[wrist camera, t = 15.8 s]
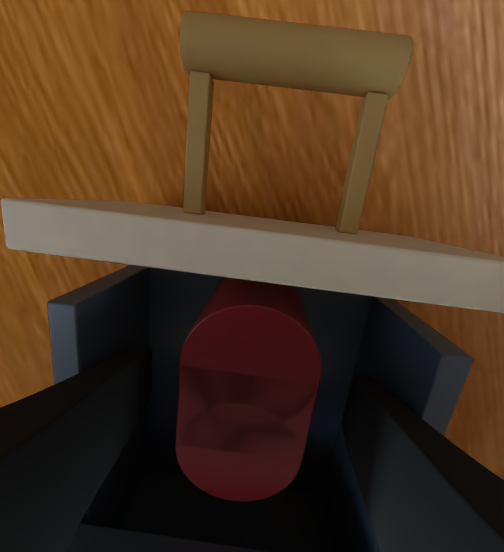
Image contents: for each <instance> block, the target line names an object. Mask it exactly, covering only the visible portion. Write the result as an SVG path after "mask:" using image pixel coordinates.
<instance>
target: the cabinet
mask: <svg viewBox="0 0 504 552" xmlns="http://www.w3.org/2000/svg"><path fill="white" fill-rule="evenodd" d="M65 552H273V551H267V550H260V549H253V548H246V547H240V546H233V545H226V544H219V543H212V542H206V541H199V540H192V539H185V538H179V537H172V536H165V535H158V534H151V533H145V532H138V531H131V530H124V529H118V528H111V527H104V526H97V525H90V524H84V523H79V525H78V527H77V529H76V531H75V533H74V535H73V537H72V539H71V541H70V543H69V545H68V547H67V549H66V550H65Z"/></svg>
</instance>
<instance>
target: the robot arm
mask: <svg viewBox="0 0 504 552" xmlns="http://www.w3.org/2000/svg"><path fill="white" fill-rule="evenodd" d="M151 389H152V347H147V346H140V345H134V346H132V347H130V348H127V349H125V350H123V351H121V352H119V353H117V354H115V355H114V356H112V357H110V358H108V359H106V360H104V361H102V362H100V363H98V364H96V365H94V366H92V367H90V368H88V369H86V370H84V371H82V372H80V373H78V374H76V375H74V376H72V377H70V378H68V379H65V380H63V381H61V382H59V383H57V384H55V385H53V386H50V387H48V388H46V389H44V390H42V391H40V392H37V393H35V394H33V395H31V396H28V397H26V398H23V399H21V400H19V401H16V402H14V403H11V404H8V405H6V406H3V407H1V408H0V552H65V550H66V549H67V547H68V545H69V543H70V541H71V539H72V537H73V535H74V533H75V531H76V529H77V527H78V525H79V523H80V521H81V519H82V517H83V515H84V514H85V512H86V510H87V508H88V507H89V505H90V503H91V501H92V500H93V498H94V496H95V494H96V493H97V491H98V490H99V488H100V486H101V485H102V483H103V481H104V480H105V478H106V477H107V475H108V473H109V472H110V470H111V468H112V467H113V465H114V464H115V462H116V460H117V459H118V457H119V455H120V454H121V452H122V450H123V449H124V447H125V446H126V444H127V442H128V441H129V439H130V437H131V436H132V434H133V432H134V431H135V429H136V427H137V426H138V424H139V422H140V420H141V418H142V415H143V413H144V411H145V409H146V407H147V405H148V402H149V400H150V398H151ZM341 424H342V428H343V433H344V438H345V443H346V447H347V452H348V455H349V458H350V462H351V465H352V468H353V471H354V474H355V476H356V479H357V482H358V485H359V488H360V491H361V494H362V497H363V500H364V503H365V506H366V509H367V511H368V514H369V517H370V520H371V523H372V526H373V529H374V532H375V535H376V538H377V541H378V544H379V547H380V551H381V552H504V480H503V479H501V478H500V477H498V476H497V475H495V474H494V473H493V472H491V471H490V470H488V469H487V468H485V467H484V466H483V465H481V464H480V463H479V462H477V461H476V460H474V459H473V458H472V457H470V456H469V455H468V454H466V453H465V452H464V451H462V450H461V449H460V448H459V447H457V446H456V445H455V444H453V443H452V442H451V441H449V440H448V439H447V438H445V437H444V436H443V435H442V434H440V433H439V432H438V431H437V430H435V429H434V428H433V427H432V426H430V425H429V424H428V423H427V422H426V421H424V420H423V419H422V418H421V417H419V416H418V415H417V414H416V413H415V412H413V411H412V410H411V409H410V408H409V407H408V406H406V405H405V404H404V403H403V402H402V401H400V400H399V399H398V398H397V397H396V396H394V395H393V394H392V393H391V392H390V391H388V390H387V389H386V388H385V387H384V386H382V385H381V384H380V383H379V382H377V381H376V380H375V379H373V378H372V377H367V376H359V375H353V379H352V383H351V387H350V391H349V395H348V399H347V403H346V406H345V410H344V414H343V418H342V422H341Z"/></svg>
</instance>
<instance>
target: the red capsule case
mask: <svg viewBox="0 0 504 552" xmlns="http://www.w3.org/2000/svg"><path fill="white" fill-rule="evenodd" d="M321 372H322V371H321V358H320V354H319V351H318V347H317V345H316V342H315V339H314V336H313V334H312V331H311V328H310V325H309V323H308V320H307V317H306V314H305V312H304V309H303V306H302V303H301V301H300V298H299V295H298V293H297V291H296V290H295V288H294V287H293V286H290V285H282V284H274V283H267V282H259V281H251V280H244V279H236V278H228V277H226V278H225V279H224V280H222V281H221V282H220V284H219V285H218V286H217V287H216V289H215V290H214V292H213V294H212V295H211V297H210V299H209V300H208V302H207V304H206V305H205V307H204V309H203V310H202V312H201V314H200V316H199V317H198V319H197V321H196V322H195V324H194V326H193V327H192V329H191V331H190V332H189V334H188V336H187V337H186V339H185V342H184V344H183V346H182V350H181V354H180V366H179V384H178V403H177V422H176V441H175V448H176V456H177V460H178V463H179V465H180V467H181V469H182V471H183V472H184V474H185V475H186V477H187V478H188V479H189V480H190V481H191V482H192V483H193V484H194V485H196V486H197V487H198V488H200V489H201V490H203V491H205V492H206V493H208V494H210V495H213V496H215V497H218V498H221V499H225V500H230V501H239V502H248V501H257V500H261V499H265V498H268V497H271V496H273V495H275V494H277V493H279V492H281V491H282V490H284V489H285V488H286V487H287V486H288V485H289V484H290V483H291V482H292V481H293V480H294V479H295V477H296V476H297V474H298V472H299V470H300V467H301V463H302V460H303V455H304V451H305V446H306V442H307V437H308V433H309V428H310V424H311V419H312V415H313V410H314V406H315V401H316V397H317V392H318V388H319V383H320V379H321Z"/></svg>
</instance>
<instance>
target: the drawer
mask: <svg viewBox="0 0 504 552" xmlns="http://www.w3.org/2000/svg"><path fill="white" fill-rule="evenodd" d="M179 41H180V53H181V59H182V63H183V67H184V70H185V72H186V74H187V75H188V76H189V96H188V117H187V137H186V158H185V178H184V199H183V208H181V207H173V206H165V205H157V204H149V203H141V202H133V201H111V200H74V199H37V198H3V199H1V208H2V216H3V224H4V231H5V239H6V246H7V248H9V249H13V250H21V251H28V252H36V253H44V254H51V255H59V256H67V257H74V258H82V259H90V260H97V261H105V262H113V263H121V264H128V265H129V266H127V267H125V268H122V269H120V270H118V271H116V272H113V273H111V274H109V275H107V276H104V277H102V278H100V279H98V280H95V281H93V282H91V283H89V284H86V285H84V286H82V287H80V288H77V289H75V290H73V291H71V292H68V293H66V294H64V295H62V296H59V297H57V298H55V299H53V300H50V301H48V303H47V308H48V319H49V330H50V340H51V351H52V362H53V372H54V383H55V384H57V383H59V382H61V381H63V380H65V379H68V378H70V377H72V376H74V375H76V374H78V373H80V372H82V371H84V370H86V369H88V368H90V367H92V366H94V365H96V364H98V363H100V362H102V361H104V360H106V359H108V358H110V357H112V356H114V355H115V354H117V353H119V352H121V351H123V350H125V349H127V348H130V347H132V346H134V345H140V346H147V347H152V389H151V398H150V400H149V402H148V405H147V407H146V409H145V411H144V413H143V415H142V418H141V420H140V422H139V424H138V426H137V427H136V429H135V431H134V432H133V434H132V436H131V437H130V439H129V441H128V442H127V444H126V446H125V447H124V449H123V450H122V452H121V454H120V455H119V457H118V459H117V460H116V462H115V464H114V465H113V467H112V468H111V470H110V472H109V473H108V475H107V477H106V478H105V480H104V481H103V483H102V485H101V486H100V488H99V490H98V491H97V493H96V494H95V496H94V498H93V500H92V501H91V503H90V505H89V507H88V508H87V510H86V512H85V514H84V515H83V517H82V519H81V521H80V523H84V524H90V525H97V526H104V527H111V528H118V529H124V530H131V531H138V532H145V533H151V534H158V535H165V536H172V537H179V538H185V539H192V540H199V541H206V542H212V543H219V544H226V545H233V546H240V547H246V548H253V549H260V550H267V551H273V552H381V551H380V547H379V544H378V541H377V538H376V535H375V532H374V529H373V526H372V523H371V520H370V517H369V514H368V511H367V509H366V506H365V503H364V500H363V497H362V494H361V491H360V488H359V485H358V482H357V479H356V476H355V474H354V471H353V468H352V465H351V462H350V458H349V455H348V452H347V447H346V443H345V438H344V433H343V428H342V424H341V422H342V418H343V414H344V410H345V406H346V403H347V399H348V395H349V391H350V387H351V383H352V379H353V375H359V376H367V377H372V378H373V379H375V380H376V381H377V382H379V383H380V384H381V385H382V386H384V387H385V388H386V389H387V390H388V391H390V392H391V393H392V394H393V395H394V396H396V397H397V398H398V399H399V400H400V401H402V402H403V403H404V404H405V405H406V406H408V407H409V408H410V409H411V410H412V411H413V412H415V413H416V414H417V415H418V416H419V417H421V418H422V419H423V420H424V421H426V422H427V423H428V424H429V425H430V426H432V427H433V428H434V429H435V430H437V431H438V432H439V433H440V434H442V435H443V436H444V434H445V432H446V429H447V427H448V424H449V422H450V419H451V416H452V414H453V411H454V409H455V406H456V404H457V401H458V399H459V396H460V394H461V391H462V389H463V386H464V384H465V381H466V378H467V376H468V373H469V371H470V368H471V366H472V363H473V361H474V359H473V358H472V357H471V356H470V355H468V354H467V353H466V352H464V351H463V350H462V349H460V348H459V347H457V346H456V345H455V344H453V343H452V342H451V341H449V340H448V339H447V338H445V337H444V336H443V335H441V334H440V333H439V332H437V331H436V330H435V329H433V328H432V327H430V326H429V325H428V324H426V323H425V322H424V321H422V320H421V319H420V318H418V317H417V316H416V315H414V314H413V313H412V312H410V311H409V310H407V309H406V308H405V307H403V306H402V305H401V304H399V303H398V302H397V301H395V300H394V299H397V300H405V301H413V302H420V303H428V304H436V305H444V306H451V307H459V308H467V309H474V310H482V311H490V312H497V313H504V257H502V256H498V255H493V254H489V253H484V252H480V251H475V250H470V249H466V248H461V247H457V246H452V245H448V244H443V243H438V242H434V241H429V240H425V239H420V238H416V237H411V236H403V235H395V234H387V233H379V232H371V231H363V230H358V229H359V225H360V221H361V216H362V212H363V207H364V203H365V199H366V194H367V190H368V185H369V181H370V176H371V172H372V168H373V163H374V159H375V154H376V150H377V146H378V141H379V137H380V132H381V128H382V123H383V119H384V115H385V110H386V106H387V101H388V99H390V98H392V97H393V96H394V95H395V93H396V92H397V90H398V89H399V87H400V85H401V83H402V81H403V79H404V77H405V75H406V72H407V69H408V67H409V63H410V60H411V56H412V50H413V39H412V37H411V36H408V35H399V34H390V33H381V32H373V31H364V30H355V29H346V28H337V27H328V26H319V25H311V24H302V23H293V22H284V21H275V20H266V19H257V18H249V17H240V16H231V15H222V14H213V13H204V12H195V11H184V12H183V13H182V16H181V21H180V30H179ZM213 79H216V80H224V81H233V82H241V83H250V84H258V85H267V86H275V87H284V88H292V89H301V90H310V91H318V92H327V93H335V94H344V95H352V96H361V97H364V98H363V99H362V100H361V104H360V109H359V114H358V119H357V123H356V128H355V133H354V138H353V143H352V148H351V153H350V158H349V163H348V168H347V173H346V178H345V183H344V188H343V193H342V197H341V202H340V207H339V212H338V217H337V222H336V227H332V226H324V225H316V224H308V223H300V222H292V221H284V220H276V219H268V218H260V217H252V216H244V215H236V214H228V213H220V212H212V211H205V204H206V190H207V176H208V161H209V147H210V133H211V119H212V105H213V90H214V81H213ZM226 277H228V278H236V279H244V280H251V281H259V282H267V283H274V284H282V285H290V286H293V287H294V288H295V290H296V291H297V293H298V295H299V298H300V301H301V303H302V306H303V309H304V312H305V314H306V317H307V320H308V323H309V325H310V328H311V331H312V334H313V336H314V339H315V342H316V345H317V347H318V351H319V354H320V358H321V371H322V372H321V379H320V383H319V388H318V392H317V397H316V401H315V406H314V410H313V415H312V419H311V424H310V428H309V433H308V437H307V442H306V446H305V451H304V455H303V460H302V463H301V467H300V470H299V472H298V474H297V476H296V477H295V479H294V480H293V481H292V482H291V483H290V484H289V485H288V486H287V487H286V488H285V489H284V490H282V491H281V492H279V493H277V494H275V495H273V496H271V497H268V498H265V499H261V500H257V501H248V502H239V501H230V500H225V499H221V498H218V497H215V496H213V495H210V494H208V493H206V492H205V491H203V490H201V489H200V488H198V487H197V486H196V485H194V484H193V483H192V482H191V481H190V480H189V479H188V478H187V477H186V475H185V474H184V472H183V471H182V469H181V467H180V465H179V463H178V460H177V456H176V448H175V441H176V422H177V403H178V384H179V366H180V354H181V350H182V346H183V344H184V342H185V339H186V337H187V336H188V334H189V332H190V331H191V329H192V327H193V326H194V324H195V322H196V321H197V319H198V317H199V316H200V314H201V312H202V310H203V309H204V307H205V305H206V304H207V302H208V300H209V299H210V297H211V295H212V294H213V292H214V290H215V289H216V287H217V286H218V285H219V284H220V282H221V281H222V280H224V279H225V278H226Z"/></svg>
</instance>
